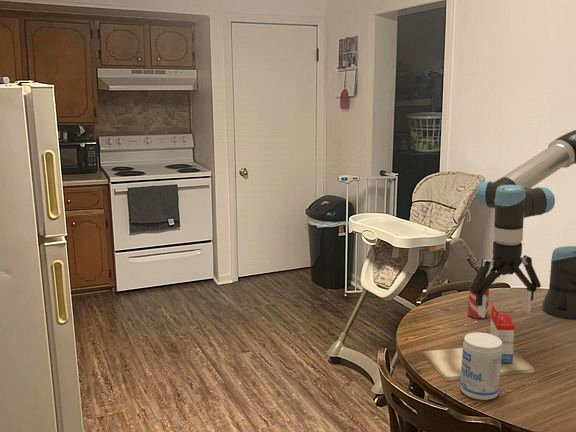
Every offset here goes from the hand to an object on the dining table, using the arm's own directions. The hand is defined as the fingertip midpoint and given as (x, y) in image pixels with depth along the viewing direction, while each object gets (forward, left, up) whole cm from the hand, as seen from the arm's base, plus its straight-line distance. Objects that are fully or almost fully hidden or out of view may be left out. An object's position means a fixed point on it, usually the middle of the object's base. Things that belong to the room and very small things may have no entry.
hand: (503, 313), depth 164 cm
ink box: (0, 0, -14) cm, 14 cm away
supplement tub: (+14, +15, -15) cm, 26 cm away
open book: (+7, 0, -15) cm, 16 cm away
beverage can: (-10, -33, -15) cm, 37 cm away
